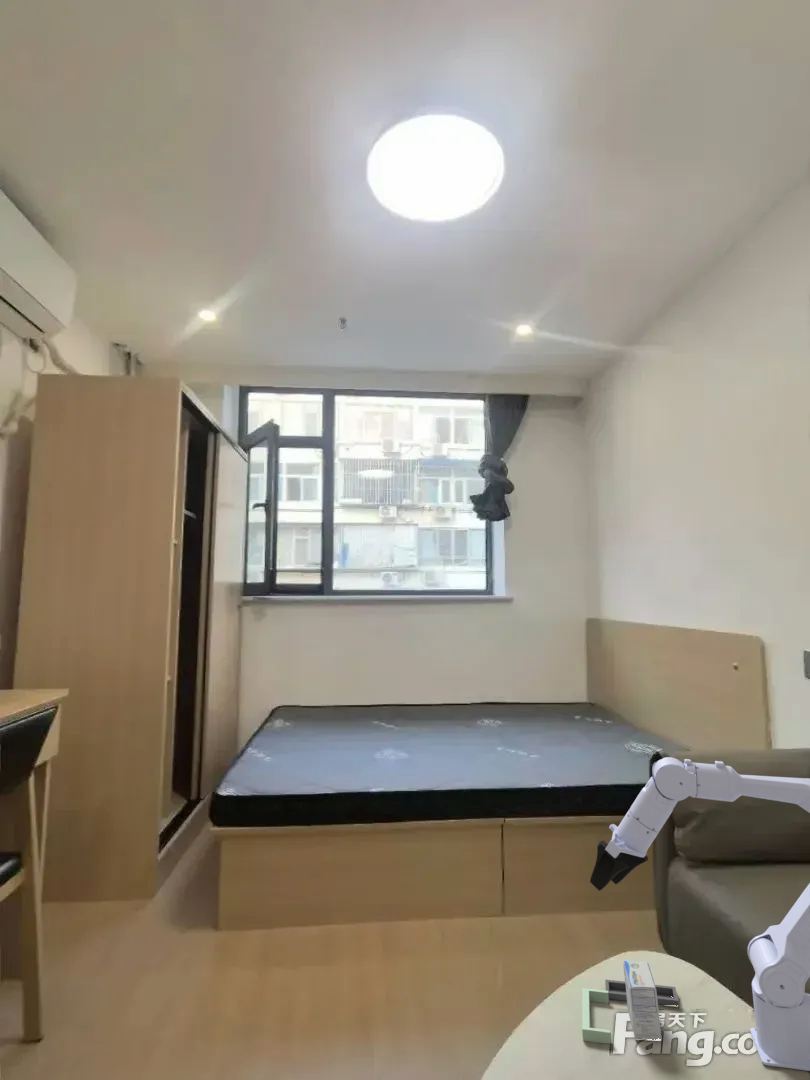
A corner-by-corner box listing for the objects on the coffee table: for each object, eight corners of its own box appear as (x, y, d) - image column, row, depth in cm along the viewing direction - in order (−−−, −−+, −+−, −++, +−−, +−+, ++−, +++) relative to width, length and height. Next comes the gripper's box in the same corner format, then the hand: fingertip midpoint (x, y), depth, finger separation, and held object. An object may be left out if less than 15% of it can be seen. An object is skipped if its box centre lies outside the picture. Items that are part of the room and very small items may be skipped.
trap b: (633, 989, 117) (632, 982, 117) (635, 1002, 113) (634, 995, 113) (605, 986, 118) (605, 979, 118) (606, 999, 114) (605, 992, 115)
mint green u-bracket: (608, 1001, 114) (608, 990, 114) (611, 1044, 103) (610, 1032, 103) (583, 998, 115) (582, 987, 115) (583, 1040, 104) (582, 1029, 105)
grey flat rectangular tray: (675, 993, 115) (675, 986, 115) (679, 1007, 111) (678, 1000, 111) (647, 990, 116) (646, 983, 116) (649, 1004, 112) (648, 997, 113)
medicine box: (662, 1043, 103) (657, 988, 104) (634, 1041, 104) (629, 986, 104) (653, 1011, 111) (648, 960, 111) (627, 1010, 111) (622, 959, 112)
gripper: (638, 802, 116) (601, 860, 118) (609, 806, 106) (568, 870, 107) (672, 829, 112) (632, 890, 113) (645, 836, 101) (601, 903, 102)
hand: (603, 882), depth 110 cm, fingers open, 7 cm apart
